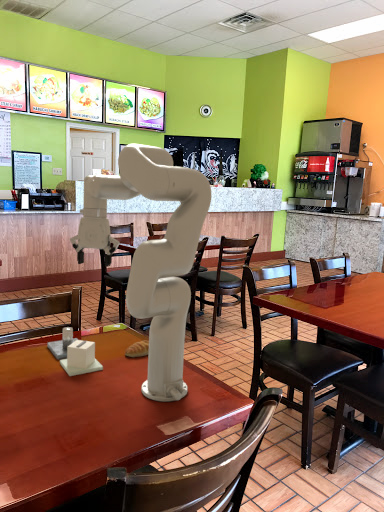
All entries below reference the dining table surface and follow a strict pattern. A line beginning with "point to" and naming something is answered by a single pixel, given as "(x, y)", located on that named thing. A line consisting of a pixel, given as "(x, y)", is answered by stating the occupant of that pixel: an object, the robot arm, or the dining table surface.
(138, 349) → the pastry
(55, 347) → the post stand
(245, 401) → the dining table surface
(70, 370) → the coaster
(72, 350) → the white slotted cube
